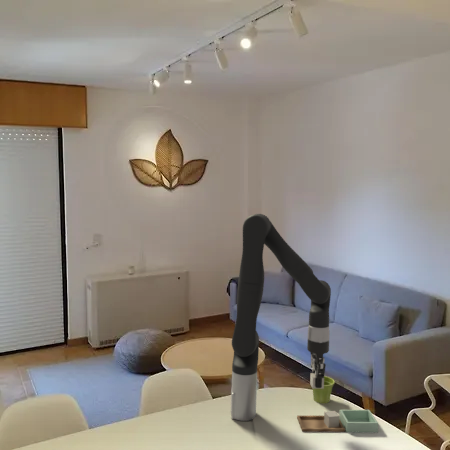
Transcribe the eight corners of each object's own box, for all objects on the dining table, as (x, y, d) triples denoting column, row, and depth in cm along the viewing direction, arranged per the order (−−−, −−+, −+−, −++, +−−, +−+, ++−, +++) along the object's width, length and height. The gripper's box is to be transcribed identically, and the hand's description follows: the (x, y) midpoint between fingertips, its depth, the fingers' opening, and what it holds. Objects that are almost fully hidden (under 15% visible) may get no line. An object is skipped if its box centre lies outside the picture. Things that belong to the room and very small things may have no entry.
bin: (346, 433, 178) (347, 422, 178) (339, 420, 188) (339, 409, 188) (377, 433, 179) (378, 422, 178) (368, 420, 189) (369, 409, 188)
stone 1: (312, 388, 180) (312, 377, 179) (310, 383, 184) (310, 373, 183) (323, 388, 180) (324, 377, 179) (321, 383, 184) (321, 373, 183)
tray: (302, 433, 178) (302, 429, 178) (297, 419, 188) (297, 415, 188) (344, 433, 179) (344, 429, 179) (337, 419, 189) (337, 415, 189)
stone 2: (328, 427, 181) (328, 416, 181) (323, 422, 185) (324, 411, 185) (339, 426, 182) (339, 416, 182) (334, 421, 186) (334, 410, 186)
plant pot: (335, 407, 199) (336, 385, 198) (311, 406, 199) (312, 385, 198) (331, 396, 208) (332, 376, 207) (307, 396, 208) (308, 375, 207)
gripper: (304, 331, 187) (302, 377, 189) (311, 344, 173) (310, 393, 174) (324, 331, 187) (322, 377, 189) (334, 344, 173) (332, 393, 175)
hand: (317, 384), depth 182 cm, fingers closed on stone 1, 4 cm apart
